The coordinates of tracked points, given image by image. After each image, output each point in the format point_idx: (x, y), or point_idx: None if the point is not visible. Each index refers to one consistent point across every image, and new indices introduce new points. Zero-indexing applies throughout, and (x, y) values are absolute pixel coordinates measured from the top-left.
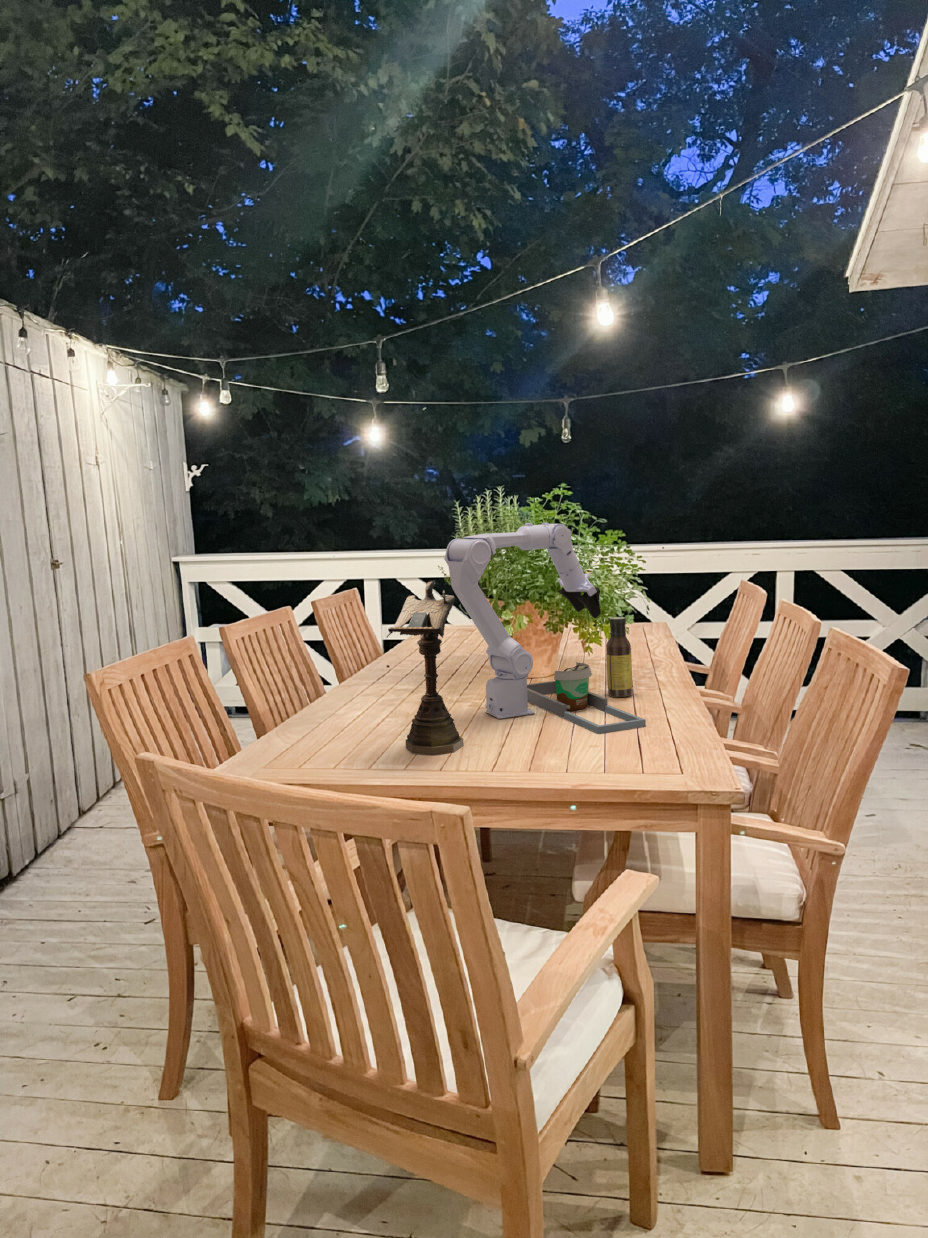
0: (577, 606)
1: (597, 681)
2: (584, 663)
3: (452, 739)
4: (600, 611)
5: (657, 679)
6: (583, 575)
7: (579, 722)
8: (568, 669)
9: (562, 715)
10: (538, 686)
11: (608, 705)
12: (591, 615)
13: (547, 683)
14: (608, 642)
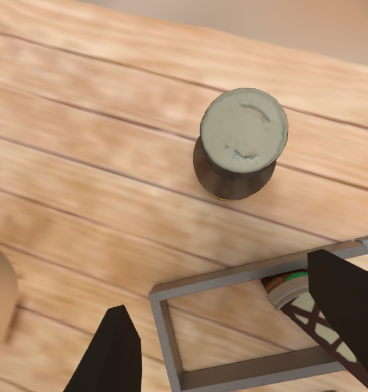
0: (135, 373)
1: (90, 182)
2: (304, 292)
3: None
4: (339, 257)
5: (111, 60)
6: None
7: None
8: (341, 352)
9: None
10: (171, 345)
11: (364, 242)
12: (326, 314)
13: (165, 324)
14: (236, 192)
